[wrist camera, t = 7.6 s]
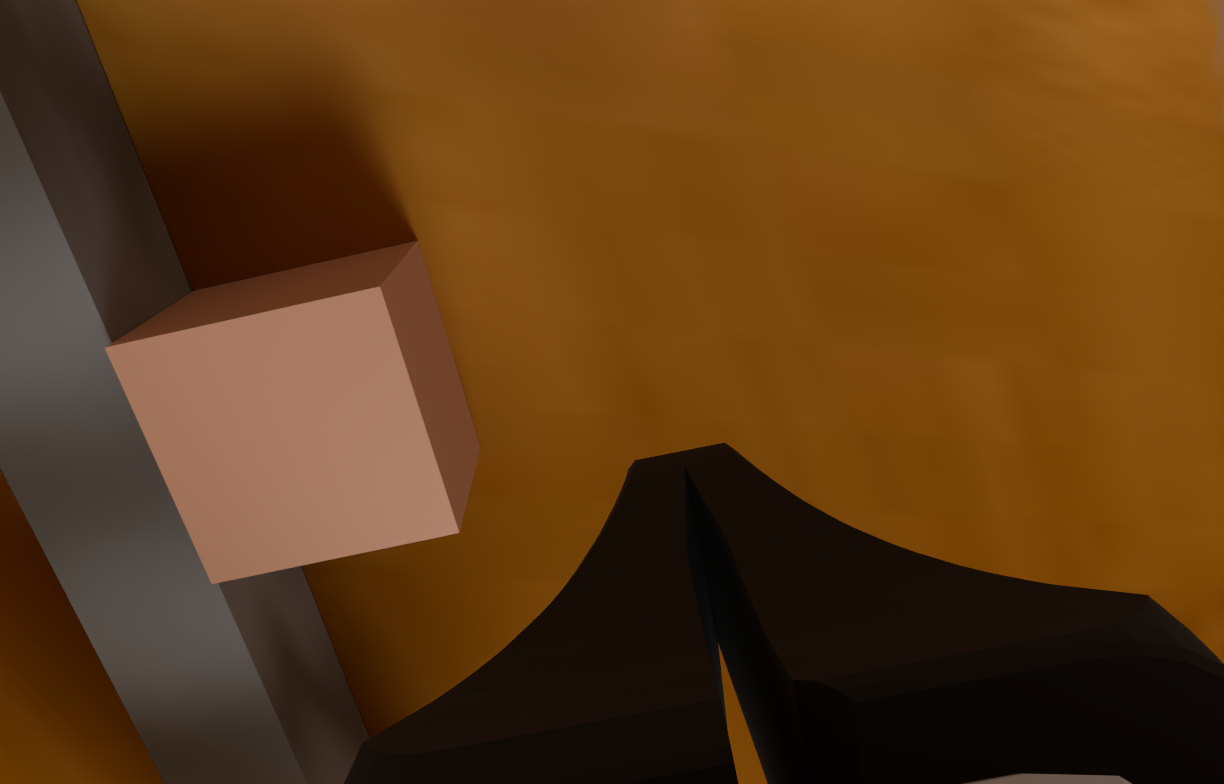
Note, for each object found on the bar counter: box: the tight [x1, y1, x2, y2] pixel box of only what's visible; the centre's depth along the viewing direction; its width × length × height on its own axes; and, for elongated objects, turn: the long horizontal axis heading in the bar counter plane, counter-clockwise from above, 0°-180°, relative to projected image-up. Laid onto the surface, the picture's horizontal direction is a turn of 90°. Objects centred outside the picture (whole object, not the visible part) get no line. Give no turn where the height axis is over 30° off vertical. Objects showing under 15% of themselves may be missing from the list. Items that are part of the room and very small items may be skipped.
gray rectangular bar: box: [0, 0, 370, 784], centre depth 18 cm, size 20×3×4 cm, turn 12°
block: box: [105, 241, 480, 584], centre depth 18 cm, size 5×5×4 cm
